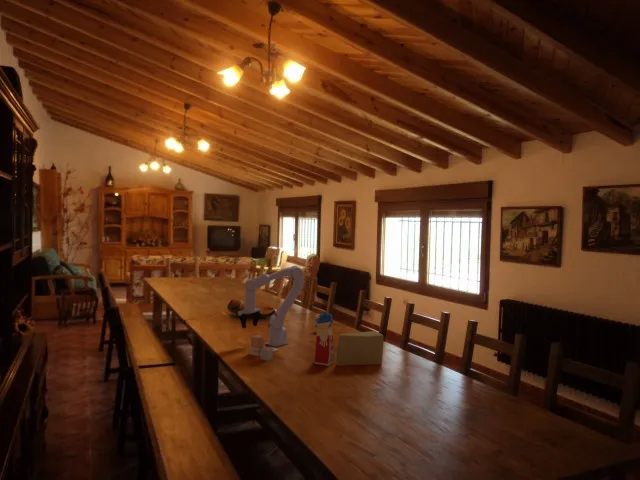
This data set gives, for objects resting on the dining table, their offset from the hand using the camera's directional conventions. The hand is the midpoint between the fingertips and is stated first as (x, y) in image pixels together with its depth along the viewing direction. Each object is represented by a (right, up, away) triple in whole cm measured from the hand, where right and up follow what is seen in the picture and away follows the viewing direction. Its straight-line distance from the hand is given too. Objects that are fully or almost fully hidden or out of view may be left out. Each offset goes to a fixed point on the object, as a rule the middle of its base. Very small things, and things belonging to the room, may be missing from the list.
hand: (249, 326), depth 258 cm
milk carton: (+39, -13, -24) cm, 48 cm away
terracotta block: (+6, -7, -15) cm, 18 cm away
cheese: (+56, -14, -24) cm, 63 cm away
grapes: (+40, -10, +38) cm, 56 cm away
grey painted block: (+12, -12, -22) cm, 28 cm away
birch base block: (+6, -11, -14) cm, 19 cm away
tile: (+11, -11, -7) cm, 17 cm away
